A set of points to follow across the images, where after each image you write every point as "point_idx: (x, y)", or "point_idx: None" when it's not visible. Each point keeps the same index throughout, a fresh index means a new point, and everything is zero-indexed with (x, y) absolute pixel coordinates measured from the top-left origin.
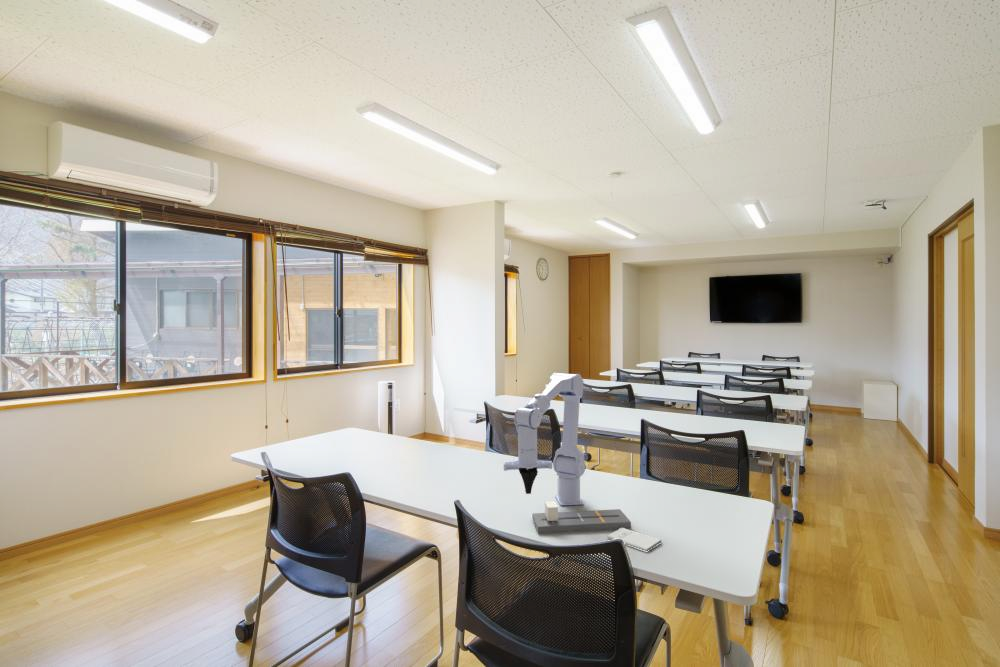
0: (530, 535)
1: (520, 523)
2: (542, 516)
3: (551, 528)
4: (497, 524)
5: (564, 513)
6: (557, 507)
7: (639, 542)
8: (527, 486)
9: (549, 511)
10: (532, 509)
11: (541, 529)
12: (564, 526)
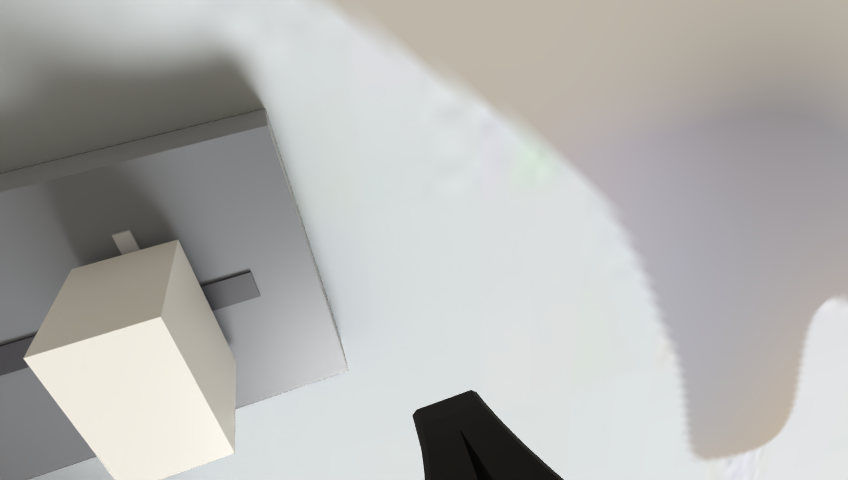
0: (327, 60)
1: (422, 267)
2: (257, 341)
3: (128, 153)
4: (575, 222)
5: (62, 438)
6: (28, 354)
7: None
8: (509, 476)
9: (146, 295)
10: (355, 475)
11: (230, 125)
12: None
